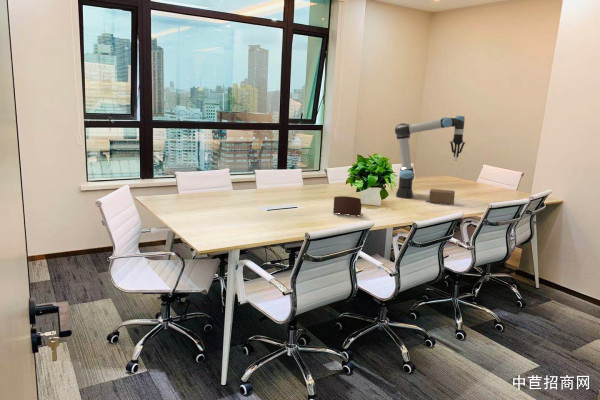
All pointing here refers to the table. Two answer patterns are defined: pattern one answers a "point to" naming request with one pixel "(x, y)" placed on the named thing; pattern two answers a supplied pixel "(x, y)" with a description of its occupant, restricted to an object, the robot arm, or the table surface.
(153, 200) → the table surface
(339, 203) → the letter holder
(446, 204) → the mat
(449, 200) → the wooden block
